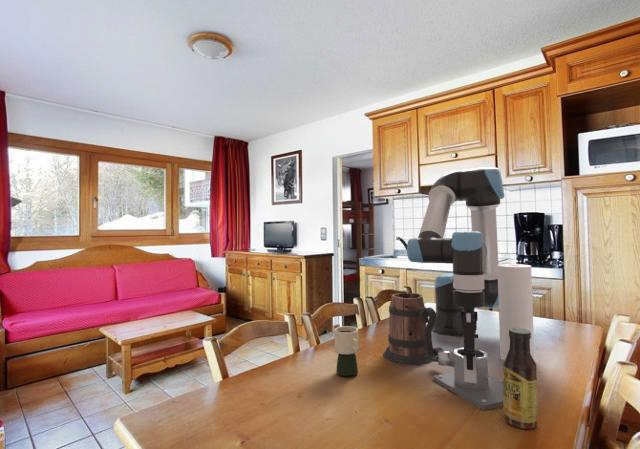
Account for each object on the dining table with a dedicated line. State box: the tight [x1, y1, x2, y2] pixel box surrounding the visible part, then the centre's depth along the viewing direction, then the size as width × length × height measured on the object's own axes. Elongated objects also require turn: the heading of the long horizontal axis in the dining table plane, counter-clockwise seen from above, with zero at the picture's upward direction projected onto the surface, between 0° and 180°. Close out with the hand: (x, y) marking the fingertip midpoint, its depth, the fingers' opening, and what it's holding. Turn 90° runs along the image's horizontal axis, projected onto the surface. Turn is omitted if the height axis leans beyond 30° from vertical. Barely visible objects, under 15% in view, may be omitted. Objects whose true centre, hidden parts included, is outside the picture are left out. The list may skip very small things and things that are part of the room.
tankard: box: [382, 292, 444, 367], centre depth 113 cm, size 24×17×20 cm
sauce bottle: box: [502, 328, 538, 430], centre depth 74 cm, size 6×6×20 cm
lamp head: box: [437, 347, 489, 391], centre depth 92 cm, size 12×8×8 cm, turn 66°
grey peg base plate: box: [432, 371, 504, 411], centre depth 91 cm, size 18×14×6 cm
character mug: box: [333, 325, 360, 377], centre depth 102 cm, size 11×7×13 cm, turn 30°
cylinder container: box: [497, 263, 535, 361], centre depth 111 cm, size 9×9×30 cm
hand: (471, 371), depth 91 cm, fingers open, 13 cm apart
